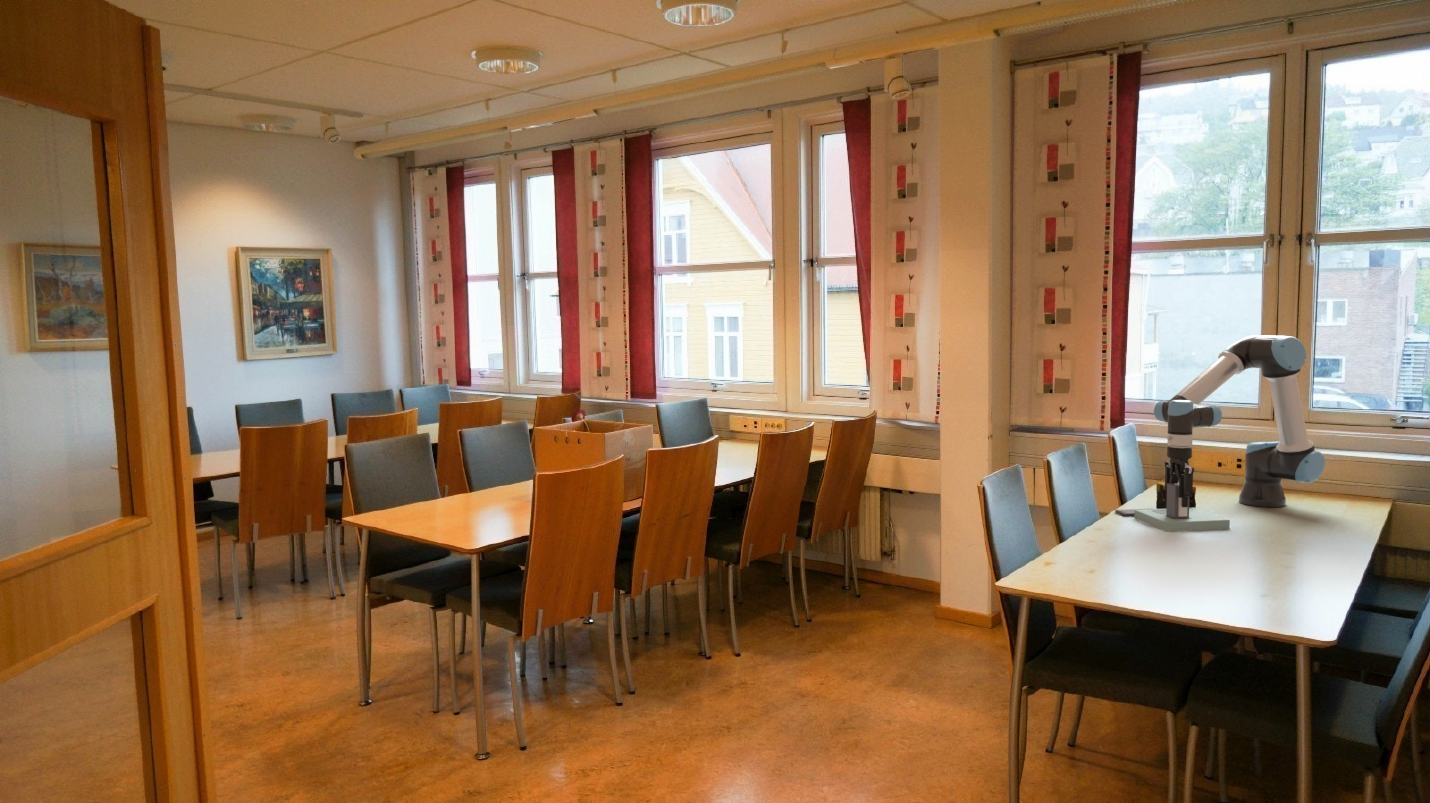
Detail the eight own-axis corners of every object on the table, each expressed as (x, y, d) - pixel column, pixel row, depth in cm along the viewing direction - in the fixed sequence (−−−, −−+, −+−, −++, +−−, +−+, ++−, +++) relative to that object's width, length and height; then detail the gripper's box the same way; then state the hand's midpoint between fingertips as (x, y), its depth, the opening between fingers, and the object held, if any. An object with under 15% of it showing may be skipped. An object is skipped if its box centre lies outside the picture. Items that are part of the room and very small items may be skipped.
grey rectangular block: (1180, 517, 324) (1181, 482, 323) (1188, 520, 319) (1189, 484, 318) (1166, 518, 324) (1167, 482, 322) (1174, 521, 319) (1175, 485, 317)
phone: (1152, 511, 344) (1152, 508, 344) (1163, 515, 337) (1163, 512, 337) (1115, 512, 343) (1115, 509, 343) (1125, 516, 336) (1125, 513, 336)
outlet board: (1193, 515, 336) (1194, 507, 335) (1229, 528, 316) (1229, 519, 316) (1134, 518, 334) (1134, 509, 333) (1166, 531, 314) (1166, 522, 314)
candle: (1196, 514, 338) (1197, 486, 337) (1167, 514, 339) (1168, 487, 338) (1183, 508, 348) (1183, 481, 347) (1155, 508, 349) (1156, 481, 348)
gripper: (1154, 442, 328) (1152, 509, 330) (1184, 450, 310) (1182, 520, 312) (1174, 442, 328) (1173, 508, 330) (1206, 449, 310) (1204, 519, 313)
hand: (1177, 514), depth 321 cm, fingers closed on grey rectangular block, 5 cm apart
